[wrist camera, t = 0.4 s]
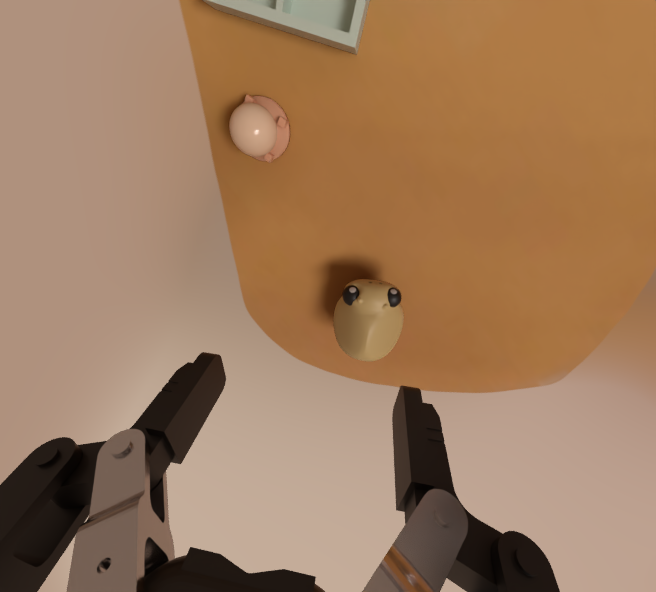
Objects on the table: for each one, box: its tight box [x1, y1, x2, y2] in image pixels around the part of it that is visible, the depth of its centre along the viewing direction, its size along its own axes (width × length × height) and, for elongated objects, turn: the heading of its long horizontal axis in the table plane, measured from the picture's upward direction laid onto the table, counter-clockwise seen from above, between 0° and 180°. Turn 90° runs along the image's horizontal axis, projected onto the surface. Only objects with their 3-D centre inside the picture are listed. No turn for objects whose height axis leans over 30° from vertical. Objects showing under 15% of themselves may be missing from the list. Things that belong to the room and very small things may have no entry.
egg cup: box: [242, 94, 290, 163], centre depth 31 cm, size 6×6×2 cm
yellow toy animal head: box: [333, 279, 404, 361], centre depth 38 cm, size 10×12×11 cm
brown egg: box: [229, 102, 277, 157], centre depth 29 cm, size 5×5×5 cm
